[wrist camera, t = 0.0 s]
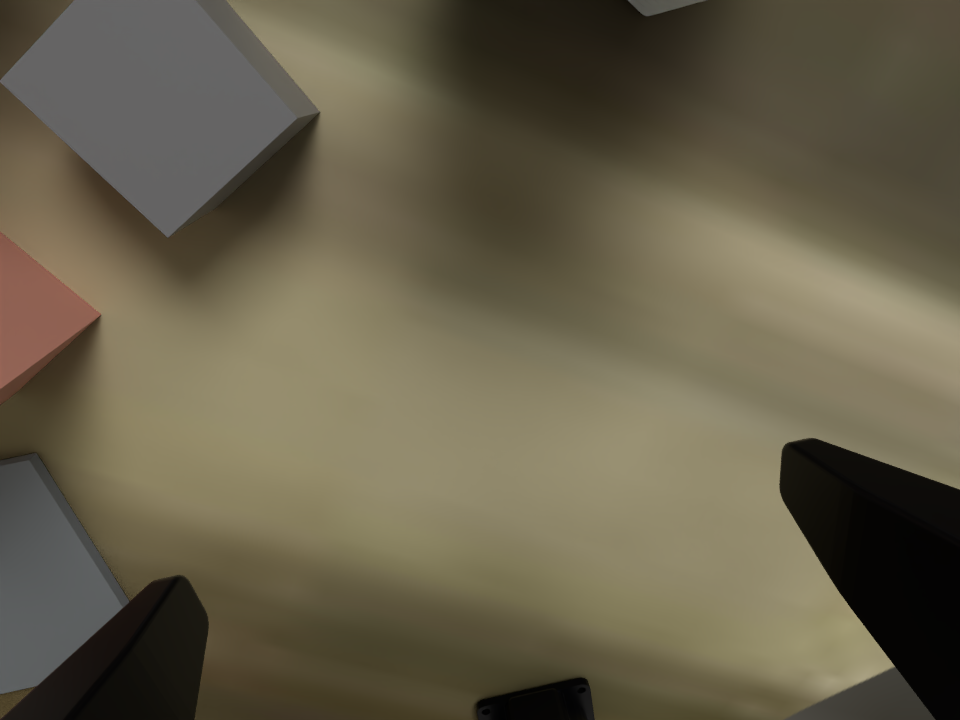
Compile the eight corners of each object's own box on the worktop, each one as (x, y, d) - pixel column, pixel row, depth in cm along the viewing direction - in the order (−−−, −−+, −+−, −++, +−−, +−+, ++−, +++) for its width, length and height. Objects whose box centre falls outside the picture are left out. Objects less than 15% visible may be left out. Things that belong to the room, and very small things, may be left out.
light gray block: (320, 111, 19) (297, 117, 15) (215, 208, 20) (167, 238, 16) (199, -31, 17) (136, -68, 13) (89, 83, 18) (-1, 80, 14)
